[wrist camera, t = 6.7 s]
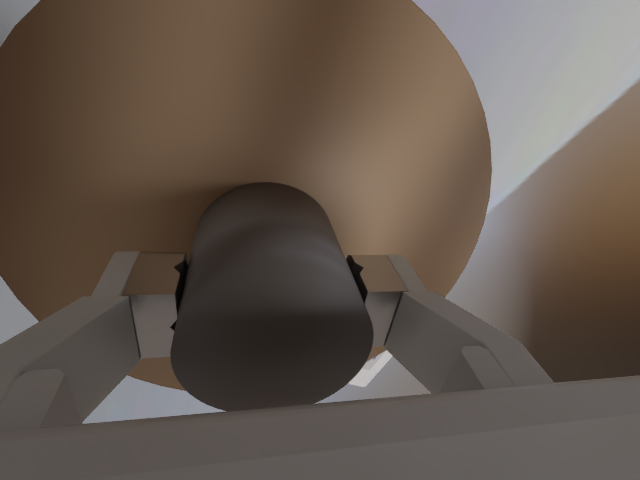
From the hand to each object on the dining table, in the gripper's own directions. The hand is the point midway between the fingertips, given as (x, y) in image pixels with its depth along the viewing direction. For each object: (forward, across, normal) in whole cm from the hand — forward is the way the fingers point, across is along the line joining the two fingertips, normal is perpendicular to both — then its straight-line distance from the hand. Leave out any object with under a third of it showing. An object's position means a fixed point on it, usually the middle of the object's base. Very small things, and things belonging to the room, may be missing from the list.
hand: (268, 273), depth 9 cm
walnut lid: (+2, 0, 0) cm, 2 cm away
